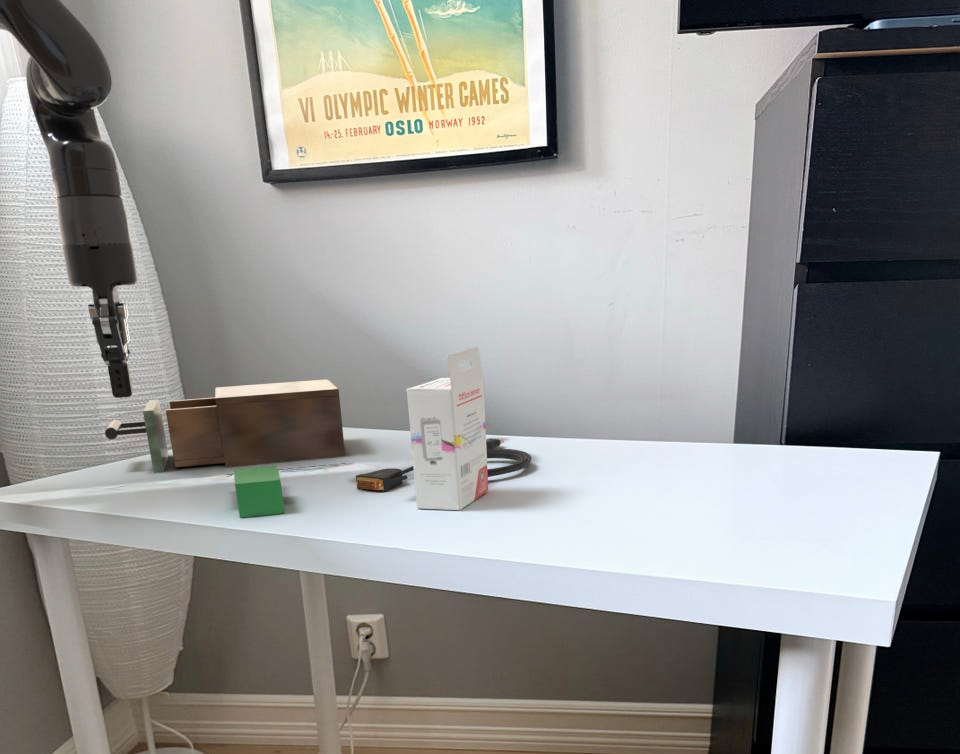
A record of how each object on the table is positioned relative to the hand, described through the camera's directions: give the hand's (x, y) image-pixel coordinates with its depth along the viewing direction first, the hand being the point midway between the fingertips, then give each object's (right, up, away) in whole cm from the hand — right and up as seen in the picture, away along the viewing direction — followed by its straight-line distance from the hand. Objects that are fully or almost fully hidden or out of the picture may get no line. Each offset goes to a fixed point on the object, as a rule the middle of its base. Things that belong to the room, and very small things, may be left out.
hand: (123, 396), depth 113 cm
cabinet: (+18, -6, +8) cm, 20 cm away
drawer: (+7, -7, +5) cm, 11 cm away
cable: (+43, -10, -4) cm, 44 cm away
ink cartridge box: (+41, -16, -18) cm, 47 cm away
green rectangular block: (+21, -16, -17) cm, 31 cm away
